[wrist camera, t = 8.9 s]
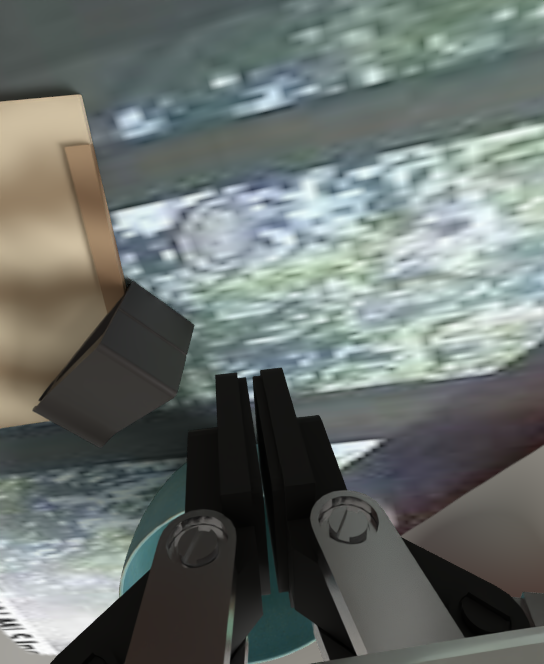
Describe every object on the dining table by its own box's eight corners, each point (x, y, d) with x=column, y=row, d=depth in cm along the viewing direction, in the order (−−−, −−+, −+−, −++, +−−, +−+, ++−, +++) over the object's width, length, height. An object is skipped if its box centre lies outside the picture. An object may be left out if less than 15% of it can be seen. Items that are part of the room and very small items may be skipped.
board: (-179, 119, 30) (-193, 118, 29) (81, 94, 31) (77, 94, 30) (-39, 428, 40) (-45, 437, 39) (152, 400, 41) (151, 408, 40)
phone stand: (194, 323, 39) (115, 404, 44) (133, 278, 37) (56, 369, 41) (177, 395, 31) (83, 483, 36) (98, 345, 29) (9, 446, 34)
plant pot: (101, 502, 45) (70, 627, 34) (211, 362, 41) (216, 454, 30) (252, 566, 52) (267, 689, 41) (362, 452, 47) (412, 555, 36)
